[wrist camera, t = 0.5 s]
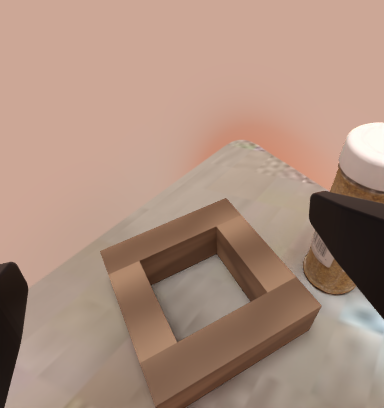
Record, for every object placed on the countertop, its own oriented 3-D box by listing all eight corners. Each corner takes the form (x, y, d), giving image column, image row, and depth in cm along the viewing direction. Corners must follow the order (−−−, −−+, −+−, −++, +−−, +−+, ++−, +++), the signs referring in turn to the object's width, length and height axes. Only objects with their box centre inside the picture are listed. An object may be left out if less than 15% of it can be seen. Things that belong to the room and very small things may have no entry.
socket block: (308, 329, 22) (321, 305, 20) (164, 419, 19) (155, 406, 16) (225, 225, 30) (226, 197, 27) (112, 277, 27) (99, 251, 24)
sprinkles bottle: (359, 301, 24) (453, 171, 14) (300, 288, 25) (350, 159, 15) (355, 255, 27) (430, 122, 17) (302, 246, 28) (345, 115, 18)
